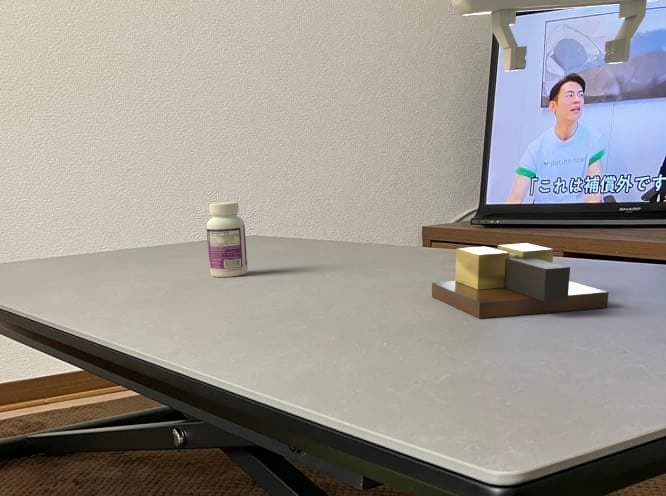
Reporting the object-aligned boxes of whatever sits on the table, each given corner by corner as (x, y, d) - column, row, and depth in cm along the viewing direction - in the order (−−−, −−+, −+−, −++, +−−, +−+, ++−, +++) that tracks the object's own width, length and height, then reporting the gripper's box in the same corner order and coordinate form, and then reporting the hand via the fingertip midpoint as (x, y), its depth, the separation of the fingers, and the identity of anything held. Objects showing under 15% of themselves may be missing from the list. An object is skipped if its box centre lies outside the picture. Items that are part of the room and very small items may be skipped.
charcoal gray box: (568, 300, 85) (570, 264, 83) (543, 302, 84) (545, 266, 83) (497, 276, 101) (499, 246, 100) (477, 278, 101) (478, 248, 100)
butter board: (543, 287, 102) (546, 241, 100) (607, 307, 88) (612, 254, 86) (431, 296, 100) (432, 249, 98) (478, 318, 87) (481, 264, 85)
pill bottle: (220, 272, 131) (214, 201, 128) (253, 272, 129) (249, 200, 126) (203, 277, 127) (197, 204, 123) (238, 277, 125) (233, 203, 121)
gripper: (466, -127, 70) (463, 72, 76) (713, -140, 72) (693, 55, 78) (441, -106, 76) (440, 78, 82) (670, -119, 78) (654, 61, 83)
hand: (565, 66), depth 80 cm, fingers open, 8 cm apart
